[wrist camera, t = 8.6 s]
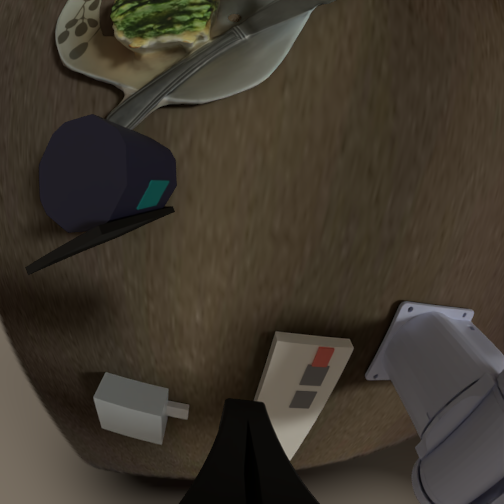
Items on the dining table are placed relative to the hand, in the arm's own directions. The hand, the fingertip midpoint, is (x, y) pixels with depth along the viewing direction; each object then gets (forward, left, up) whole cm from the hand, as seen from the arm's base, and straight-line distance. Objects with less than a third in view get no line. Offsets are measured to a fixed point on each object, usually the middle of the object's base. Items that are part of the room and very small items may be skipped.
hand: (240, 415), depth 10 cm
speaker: (+8, -6, -11) cm, 15 cm away
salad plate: (+7, -20, -11) cm, 24 cm away
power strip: (-6, +12, -10) cm, 17 cm away
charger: (+8, +14, -11) cm, 19 cm away
